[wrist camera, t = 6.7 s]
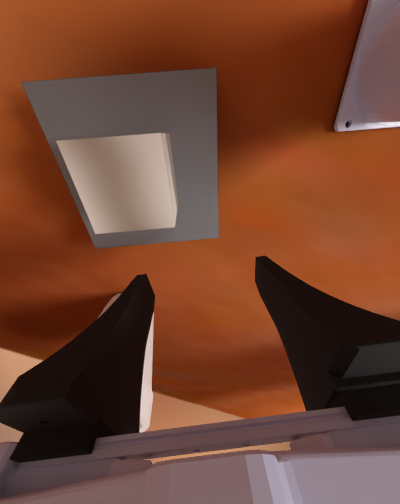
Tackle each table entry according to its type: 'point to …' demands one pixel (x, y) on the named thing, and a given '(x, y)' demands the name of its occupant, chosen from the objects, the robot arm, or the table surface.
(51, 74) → the table surface
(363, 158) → the table surface
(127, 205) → the cream cube
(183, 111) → the charcoal plinth
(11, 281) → the table surface
